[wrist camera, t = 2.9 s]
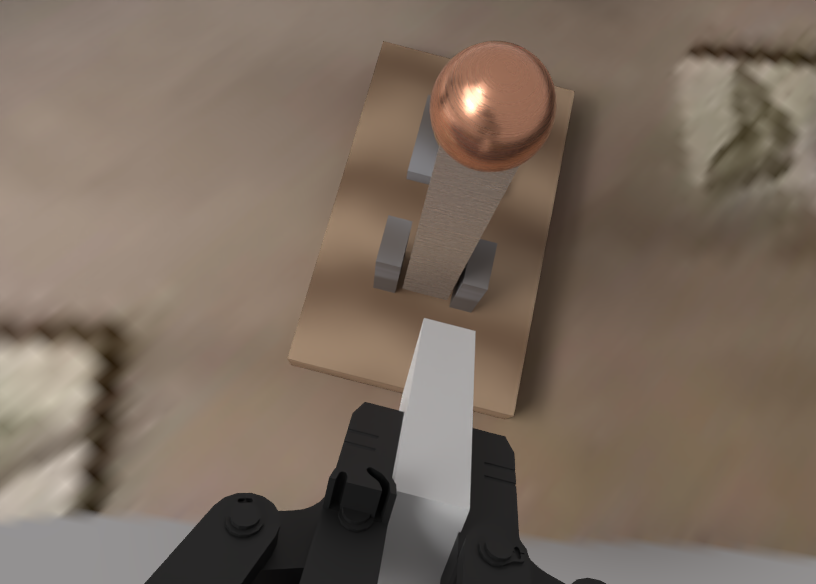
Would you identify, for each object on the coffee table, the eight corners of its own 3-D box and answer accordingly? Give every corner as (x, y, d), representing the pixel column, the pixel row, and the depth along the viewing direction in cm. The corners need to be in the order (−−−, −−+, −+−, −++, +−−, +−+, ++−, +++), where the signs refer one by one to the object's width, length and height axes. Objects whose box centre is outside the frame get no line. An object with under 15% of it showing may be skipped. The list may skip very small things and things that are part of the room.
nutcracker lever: (455, 313, 32) (562, 146, 16) (388, 296, 32) (423, 111, 16) (469, 250, 33) (584, 31, 17) (404, 233, 33) (454, -3, 17)
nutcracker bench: (504, 419, 34) (539, 407, 28) (291, 364, 34) (276, 340, 27) (564, 109, 40) (604, 40, 33) (381, 62, 39) (387, -16, 33)
